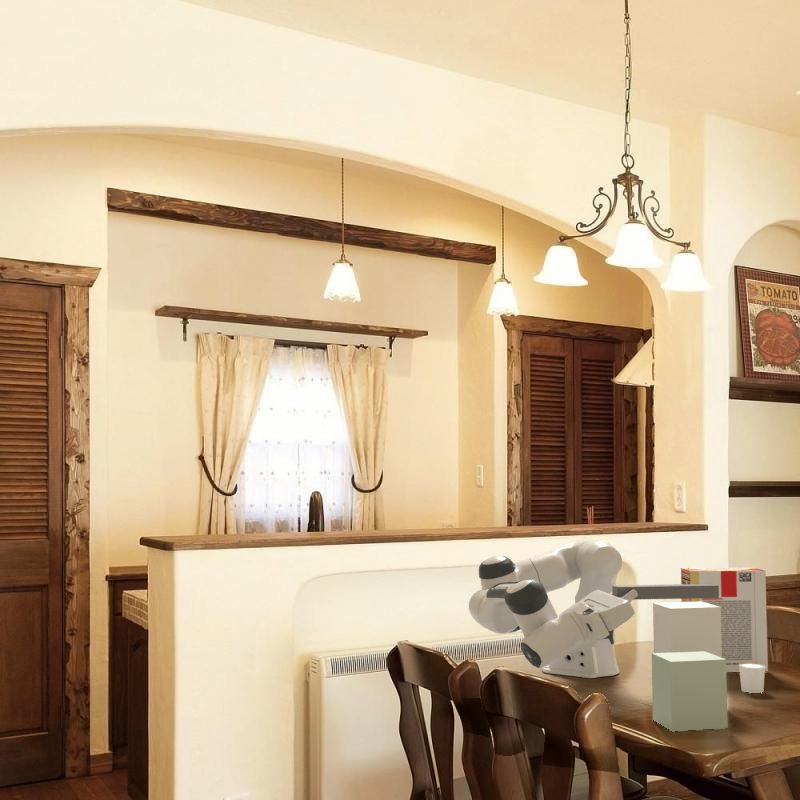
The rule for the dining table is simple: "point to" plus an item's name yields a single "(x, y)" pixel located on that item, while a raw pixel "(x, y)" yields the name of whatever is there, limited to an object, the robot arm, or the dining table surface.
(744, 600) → the pasta box
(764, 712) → the dining table surface
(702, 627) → the tall stand
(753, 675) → the shot glass
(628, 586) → the charcoal bar
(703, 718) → the low stand
